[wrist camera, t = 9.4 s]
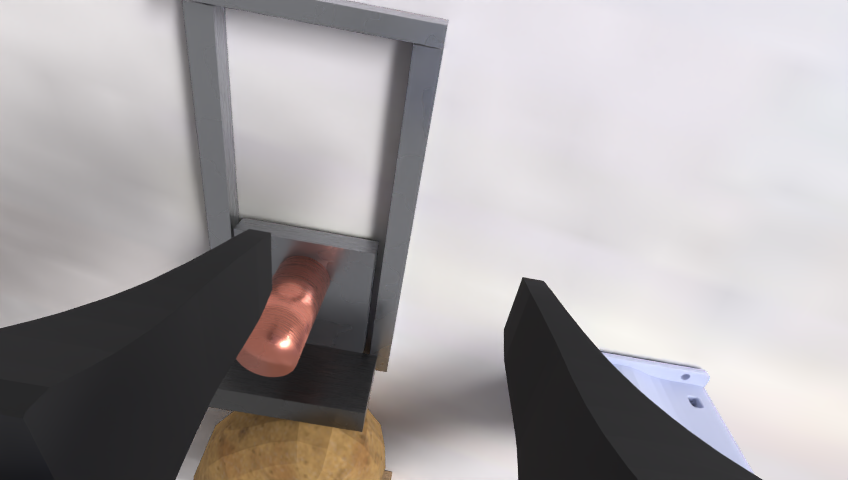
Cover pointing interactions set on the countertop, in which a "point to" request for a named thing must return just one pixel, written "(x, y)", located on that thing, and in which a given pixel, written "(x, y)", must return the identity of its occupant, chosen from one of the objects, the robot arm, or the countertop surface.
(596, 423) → the robot arm
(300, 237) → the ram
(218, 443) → the potato
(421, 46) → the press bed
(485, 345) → the countertop surface
